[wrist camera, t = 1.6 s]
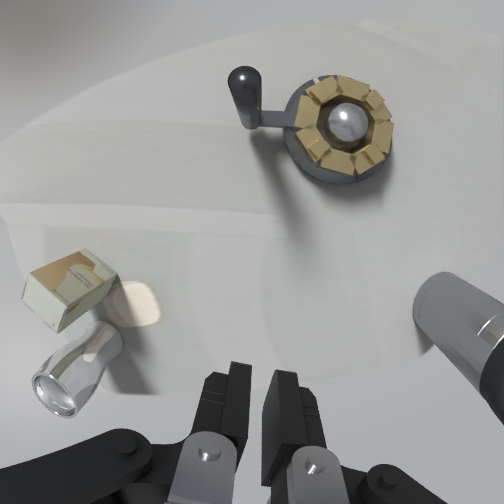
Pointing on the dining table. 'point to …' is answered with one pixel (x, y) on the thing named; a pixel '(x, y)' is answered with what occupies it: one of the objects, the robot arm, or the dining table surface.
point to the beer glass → (77, 369)
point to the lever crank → (305, 119)
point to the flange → (332, 134)
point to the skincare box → (67, 288)
